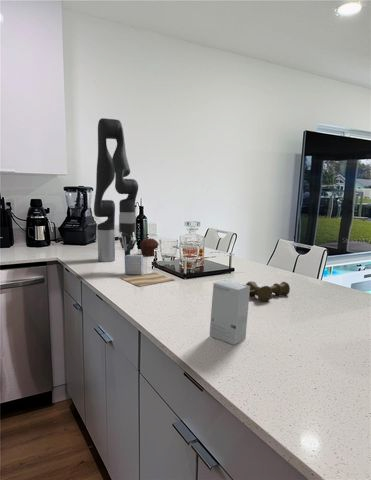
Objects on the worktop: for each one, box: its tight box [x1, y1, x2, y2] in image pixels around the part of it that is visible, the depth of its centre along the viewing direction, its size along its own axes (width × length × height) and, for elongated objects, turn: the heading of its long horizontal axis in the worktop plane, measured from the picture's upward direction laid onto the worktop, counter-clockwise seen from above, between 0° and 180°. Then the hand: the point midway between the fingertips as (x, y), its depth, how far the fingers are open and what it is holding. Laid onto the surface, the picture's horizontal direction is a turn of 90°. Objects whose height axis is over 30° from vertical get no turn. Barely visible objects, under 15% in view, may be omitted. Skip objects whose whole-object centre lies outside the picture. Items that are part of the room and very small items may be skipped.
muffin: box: [139, 238, 160, 257], centre depth 200 cm, size 12×11×10 cm
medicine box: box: [124, 254, 145, 275], centre depth 153 cm, size 8×4×9 cm, turn 84°
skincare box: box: [209, 279, 250, 346], centre depth 87 cm, size 8×6×15 cm
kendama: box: [245, 281, 291, 303], centre depth 123 cm, size 6×10×20 cm
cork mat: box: [120, 272, 176, 288], centre depth 145 cm, size 16×18×1 cm
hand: (127, 257), depth 158 cm, fingers closed
